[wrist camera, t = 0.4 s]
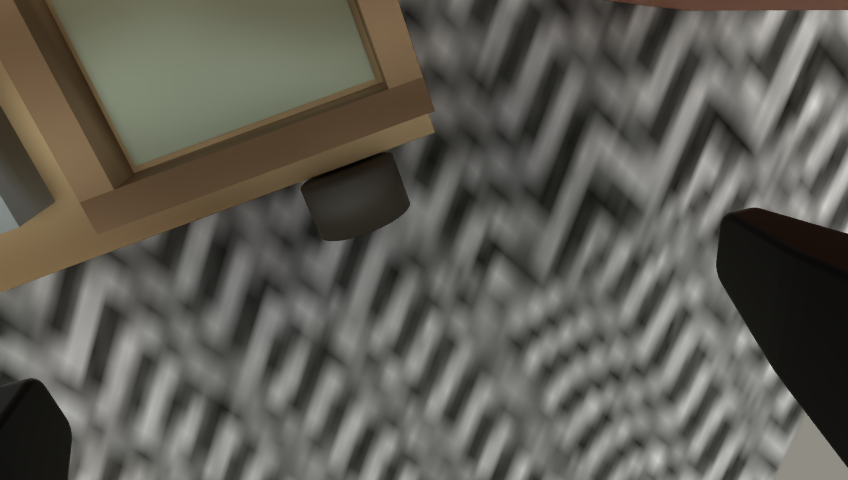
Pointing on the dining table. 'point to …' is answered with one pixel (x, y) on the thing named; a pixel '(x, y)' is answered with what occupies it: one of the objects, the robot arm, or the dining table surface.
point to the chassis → (196, 118)
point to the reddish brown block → (743, 4)
